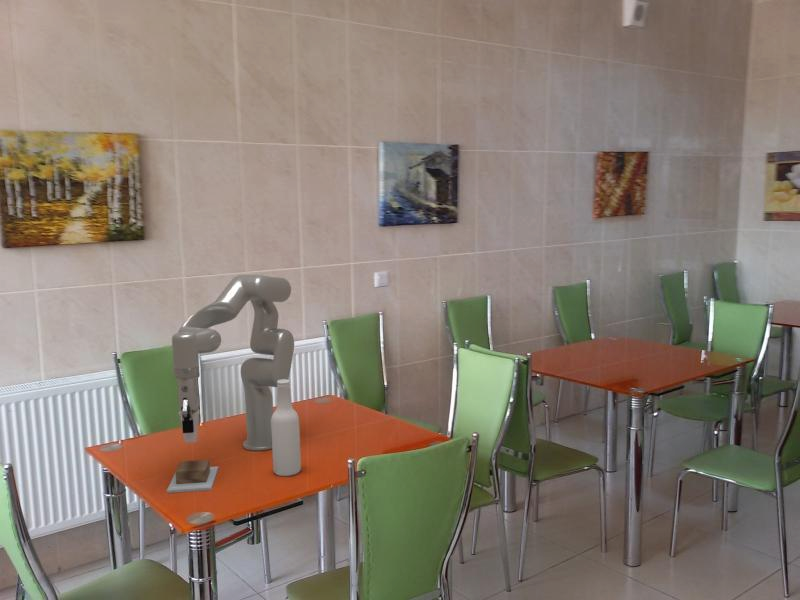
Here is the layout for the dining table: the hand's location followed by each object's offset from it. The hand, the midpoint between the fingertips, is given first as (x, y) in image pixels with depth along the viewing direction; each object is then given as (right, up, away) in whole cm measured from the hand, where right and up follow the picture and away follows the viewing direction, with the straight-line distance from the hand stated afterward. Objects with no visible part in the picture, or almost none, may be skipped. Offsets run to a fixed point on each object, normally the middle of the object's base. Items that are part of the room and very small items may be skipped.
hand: (190, 428), depth 228 cm
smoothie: (0, -4, +1) cm, 4 cm away
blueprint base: (0, -17, +2) cm, 17 cm away
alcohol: (+29, -15, +8) cm, 34 cm away
